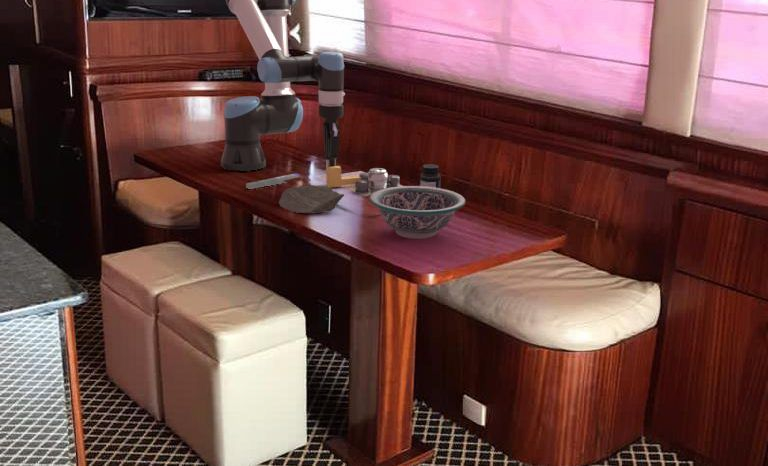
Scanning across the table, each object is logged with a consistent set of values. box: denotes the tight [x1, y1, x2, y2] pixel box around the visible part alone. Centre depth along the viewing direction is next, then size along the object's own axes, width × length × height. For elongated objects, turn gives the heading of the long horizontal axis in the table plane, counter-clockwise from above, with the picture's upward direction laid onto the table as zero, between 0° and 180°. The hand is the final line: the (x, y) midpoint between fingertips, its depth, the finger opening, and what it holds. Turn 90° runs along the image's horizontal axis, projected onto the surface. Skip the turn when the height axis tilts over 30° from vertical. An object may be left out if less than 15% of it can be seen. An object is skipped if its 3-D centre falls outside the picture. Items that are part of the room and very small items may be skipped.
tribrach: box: [317, 167, 403, 197], centre depth 267 cm, size 26×17×7 cm, turn 37°
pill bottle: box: [419, 164, 442, 188], centre depth 251 cm, size 6×6×11 cm
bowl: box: [369, 185, 466, 240], centre depth 222 cm, size 25×25×10 cm
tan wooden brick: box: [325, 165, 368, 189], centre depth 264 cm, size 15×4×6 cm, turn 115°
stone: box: [278, 184, 345, 214], centre depth 244 cm, size 20×4×15 cm
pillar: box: [245, 172, 300, 189], centre depth 268 cm, size 2×2×20 cm
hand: (330, 179), depth 265 cm, fingers closed
